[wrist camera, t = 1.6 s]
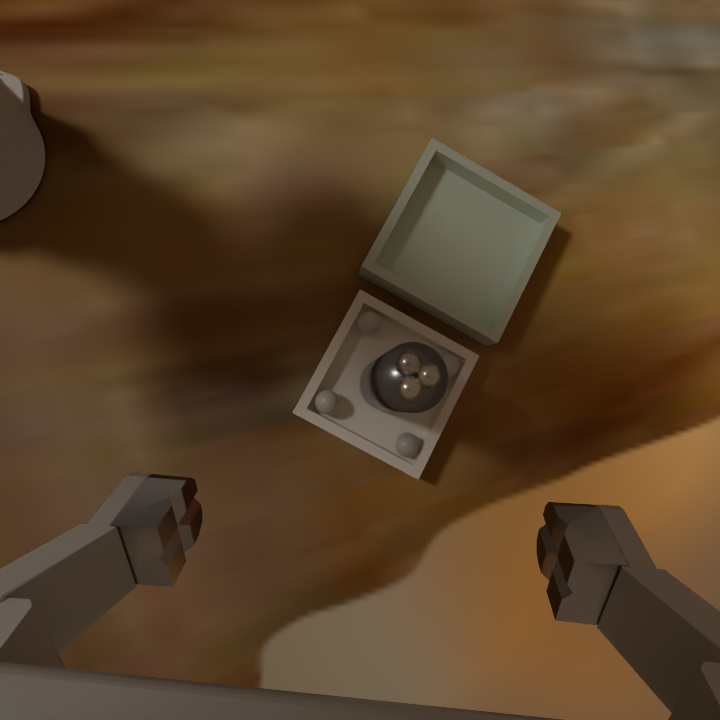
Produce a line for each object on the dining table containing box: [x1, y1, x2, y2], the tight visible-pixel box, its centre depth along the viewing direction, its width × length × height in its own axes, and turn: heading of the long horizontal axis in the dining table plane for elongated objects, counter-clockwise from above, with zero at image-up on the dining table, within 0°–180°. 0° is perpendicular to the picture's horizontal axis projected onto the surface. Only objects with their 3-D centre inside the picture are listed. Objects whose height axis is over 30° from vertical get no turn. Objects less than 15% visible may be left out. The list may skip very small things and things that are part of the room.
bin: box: [358, 138, 561, 346], centre depth 49 cm, size 16×16×3 cm
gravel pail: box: [360, 342, 448, 413], centre depth 41 cm, size 6×6×13 cm
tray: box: [293, 290, 479, 480], centre depth 47 cm, size 14×14×3 cm
